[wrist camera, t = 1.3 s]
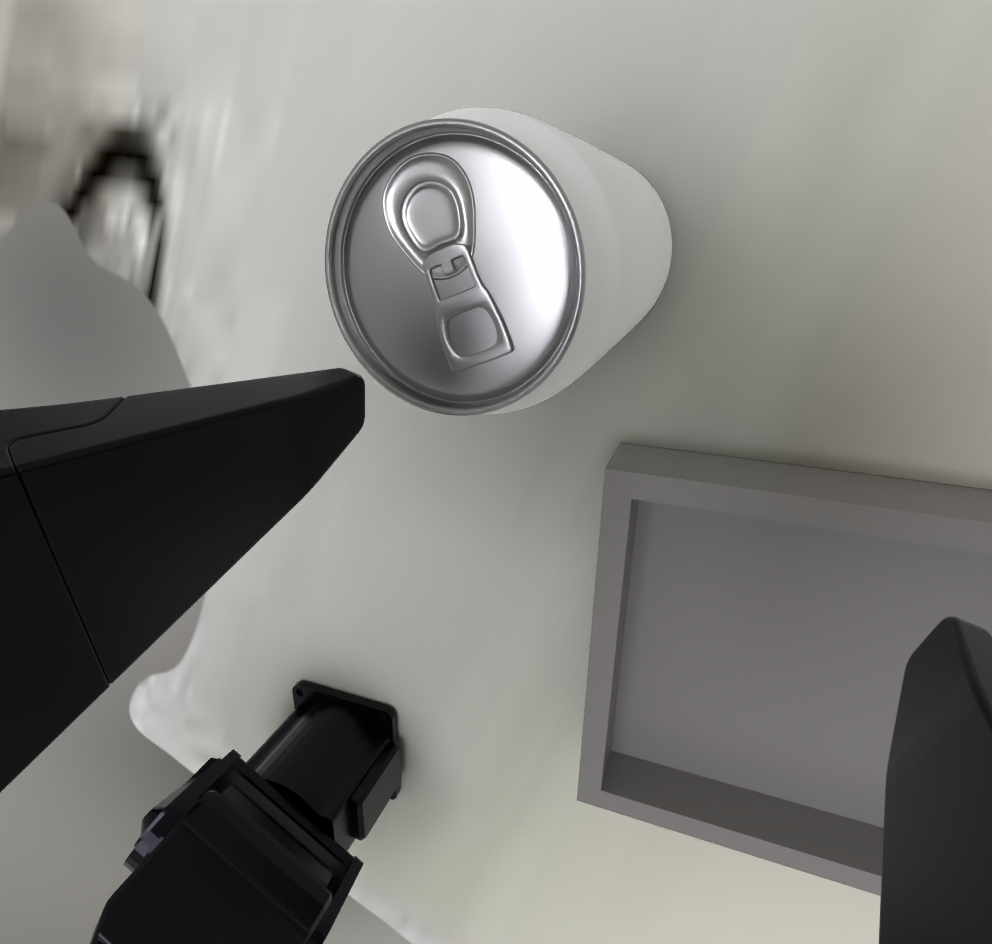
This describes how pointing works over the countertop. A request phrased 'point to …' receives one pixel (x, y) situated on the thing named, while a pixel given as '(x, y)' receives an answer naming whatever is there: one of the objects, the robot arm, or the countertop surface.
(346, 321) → the can
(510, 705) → the countertop surface
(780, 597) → the tray
